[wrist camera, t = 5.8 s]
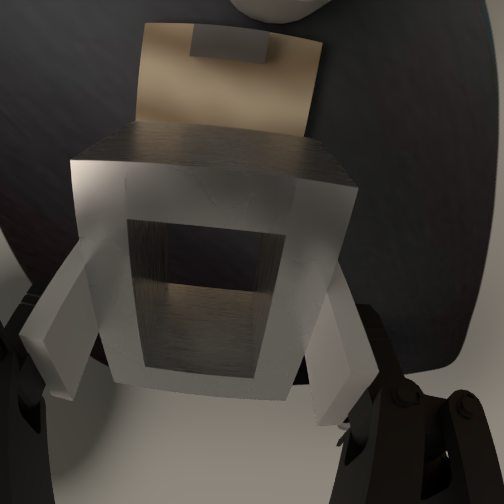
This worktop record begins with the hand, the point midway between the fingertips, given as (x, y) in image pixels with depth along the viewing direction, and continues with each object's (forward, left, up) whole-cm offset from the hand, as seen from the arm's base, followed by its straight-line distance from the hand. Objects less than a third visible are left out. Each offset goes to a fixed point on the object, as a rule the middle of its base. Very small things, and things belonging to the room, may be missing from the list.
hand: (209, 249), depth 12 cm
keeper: (-2, -1, -15) cm, 15 cm away
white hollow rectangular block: (0, 0, -1) cm, 1 cm away
